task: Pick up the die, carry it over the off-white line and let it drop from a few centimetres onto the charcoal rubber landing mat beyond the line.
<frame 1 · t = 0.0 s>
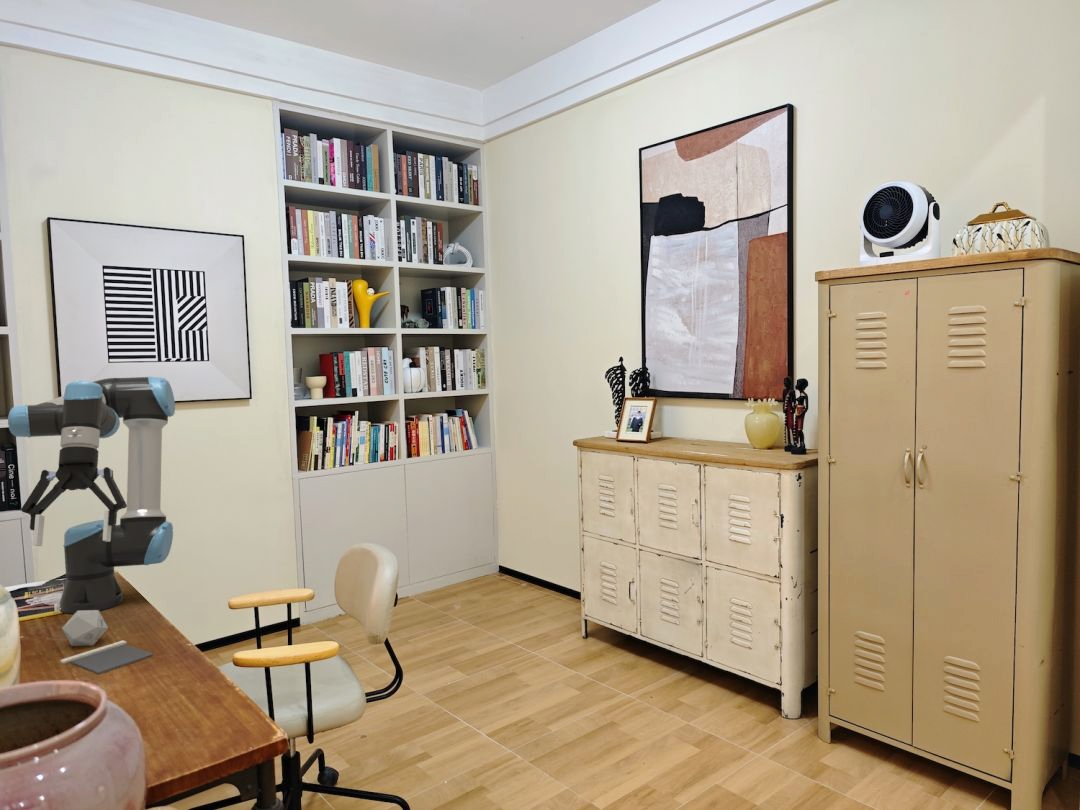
hand: (72, 543, 164), 28 cm above the table, tool tilted 20°, fingers open, 13 cm apart
landing mat: (110, 658, 170), on the table
die: (86, 644, 180), on the table
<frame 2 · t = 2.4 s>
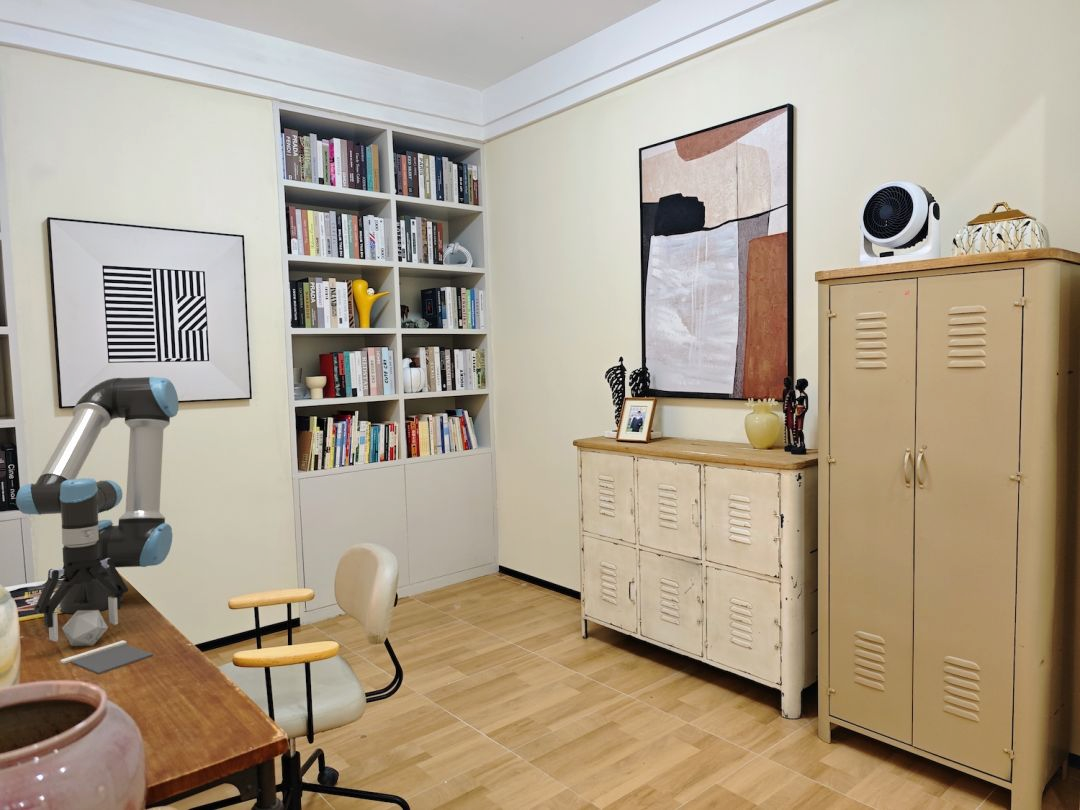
hand: (84, 631, 180), 3 cm above the table, tool pointing down, fingers open, 13 cm apart
nothing on the table moved.
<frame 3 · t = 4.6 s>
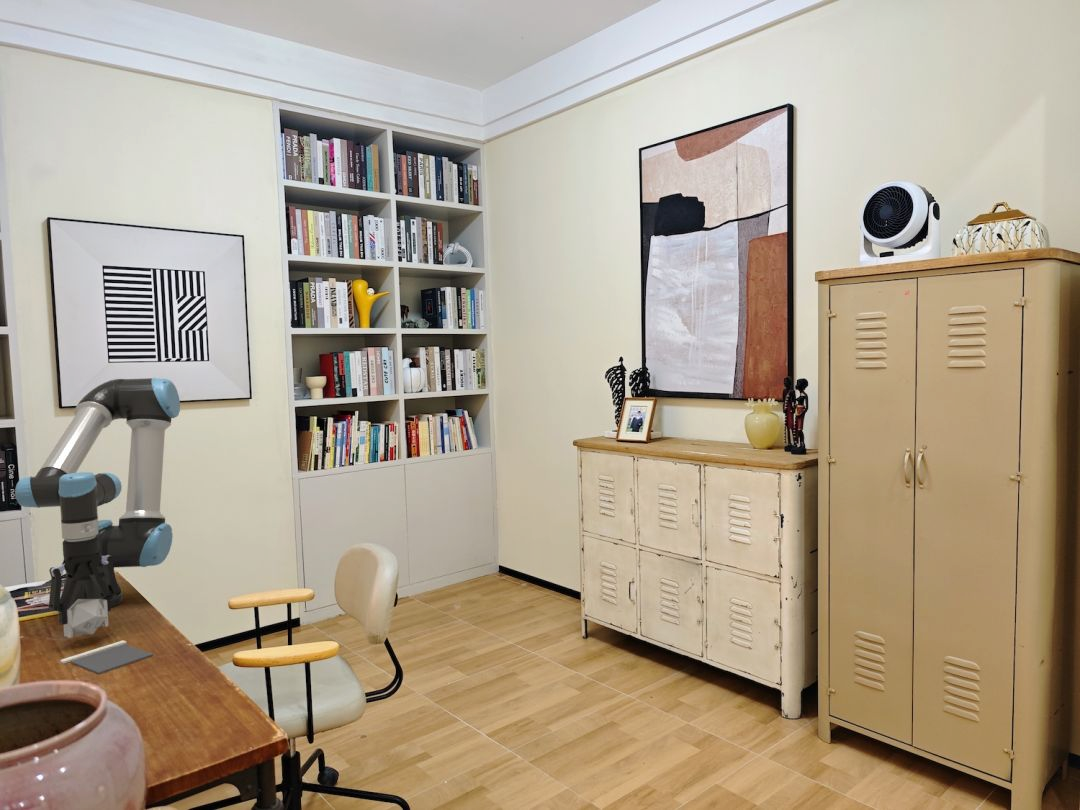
hand: (86, 630, 181), 3 cm above the table, tool pointing down, fingers closed on die, 7 cm apart
die: (86, 632, 181), point 2 cm above the table, touching gripper
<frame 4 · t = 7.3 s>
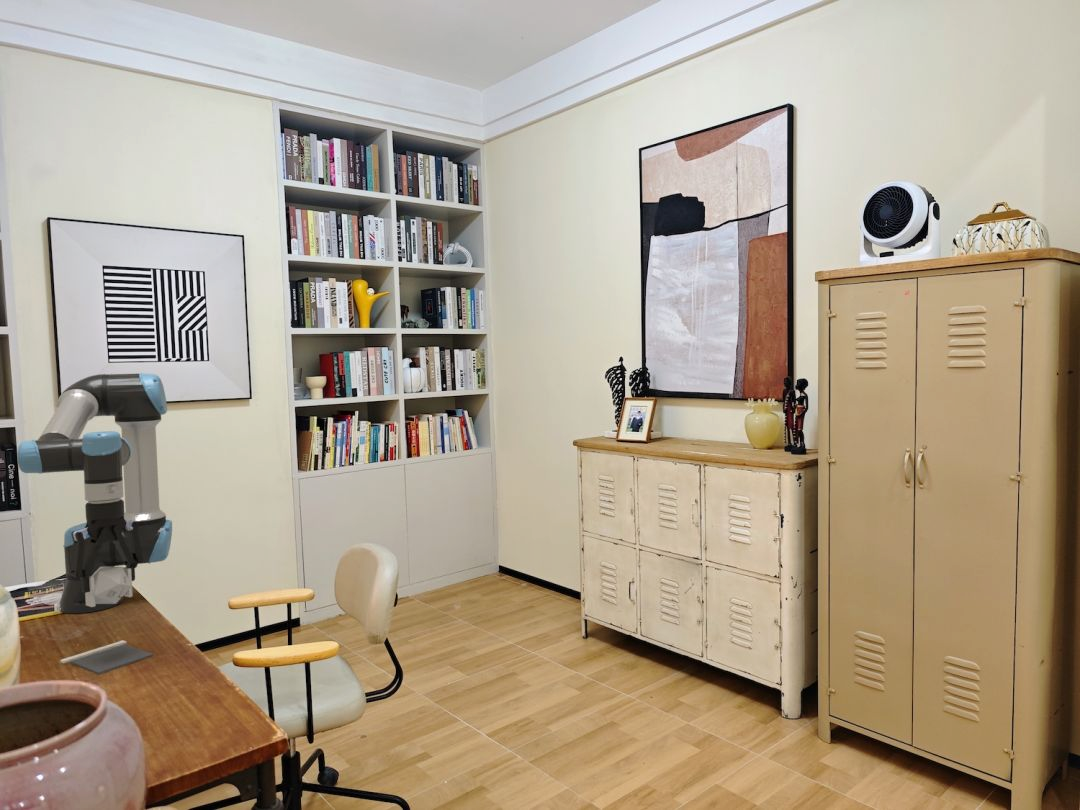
hand: (109, 600, 169), 14 cm above the table, tool pointing down, fingers closed on die, 7 cm apart
die: (108, 602, 169), point 13 cm above the table, touching gripper
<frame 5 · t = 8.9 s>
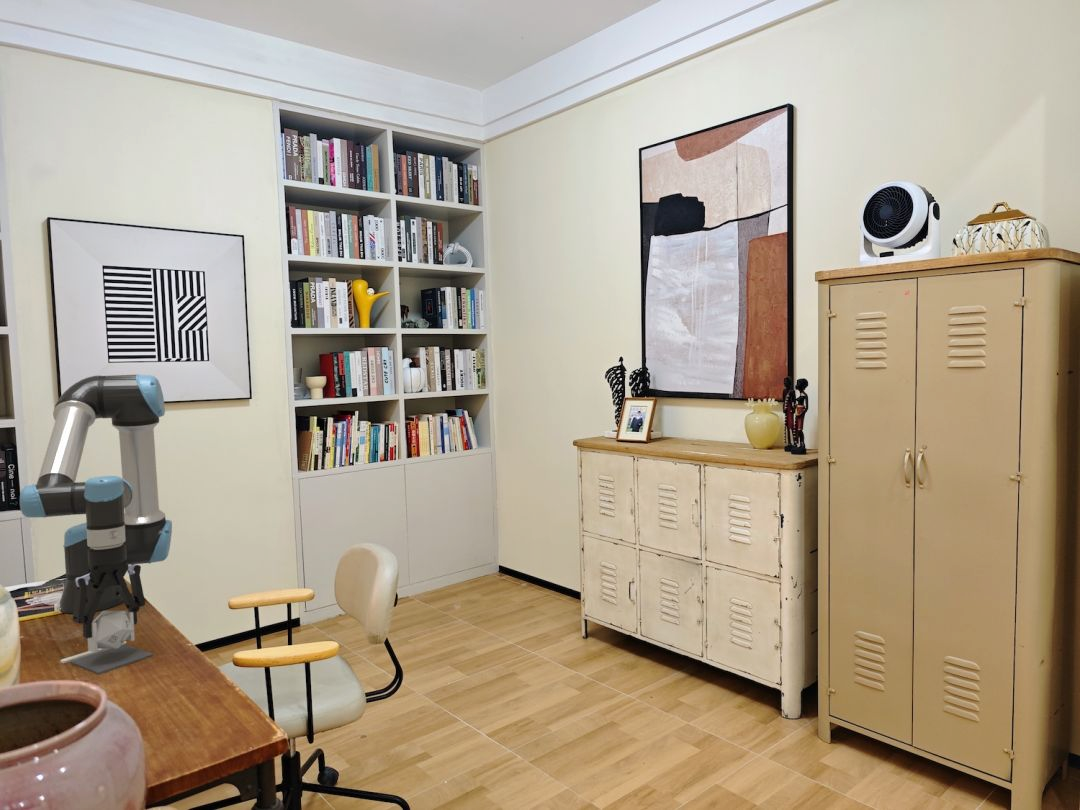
hand: (111, 645, 170), 3 cm above the table, tool pointing down, fingers closed on die, 7 cm apart
die: (111, 647, 170), point 3 cm above the table, touching gripper
when the fingers open (2 cm above the table, at t = 9.9 s): die drops 2 cm, resting on landing mat.
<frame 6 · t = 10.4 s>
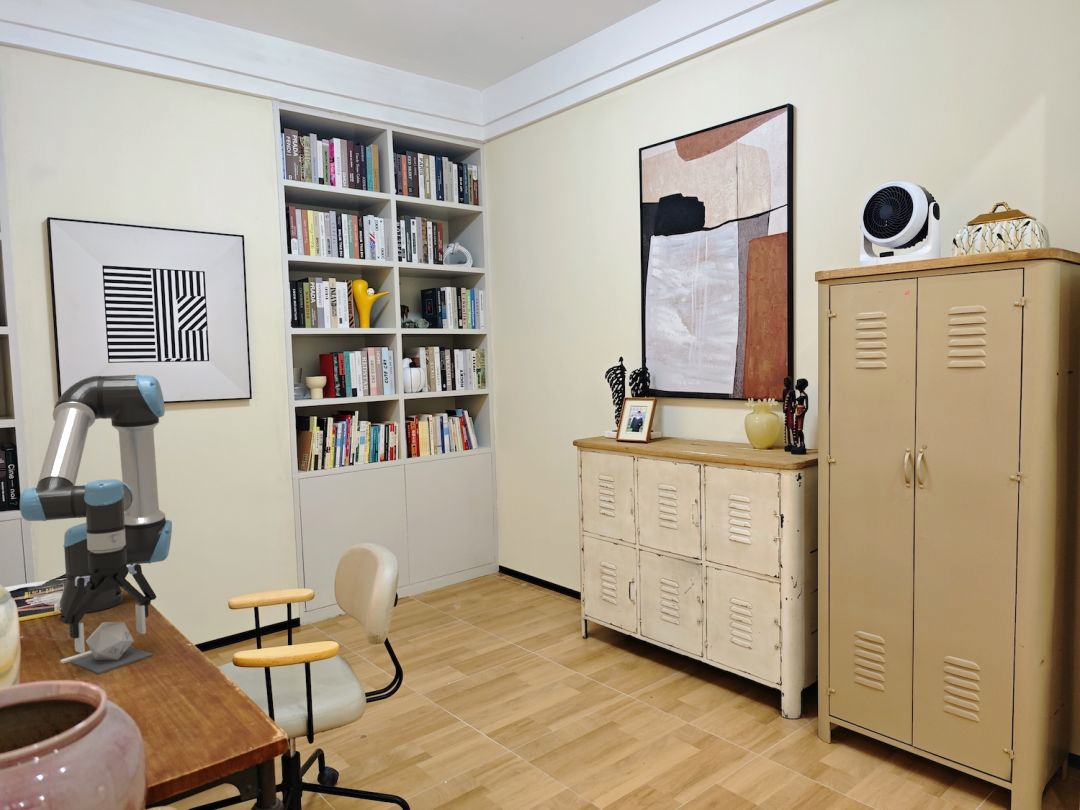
hand: (111, 641, 170), 4 cm above the table, tool pointing down, fingers open, 13 cm apart
die: (110, 658, 170), resting on landing mat
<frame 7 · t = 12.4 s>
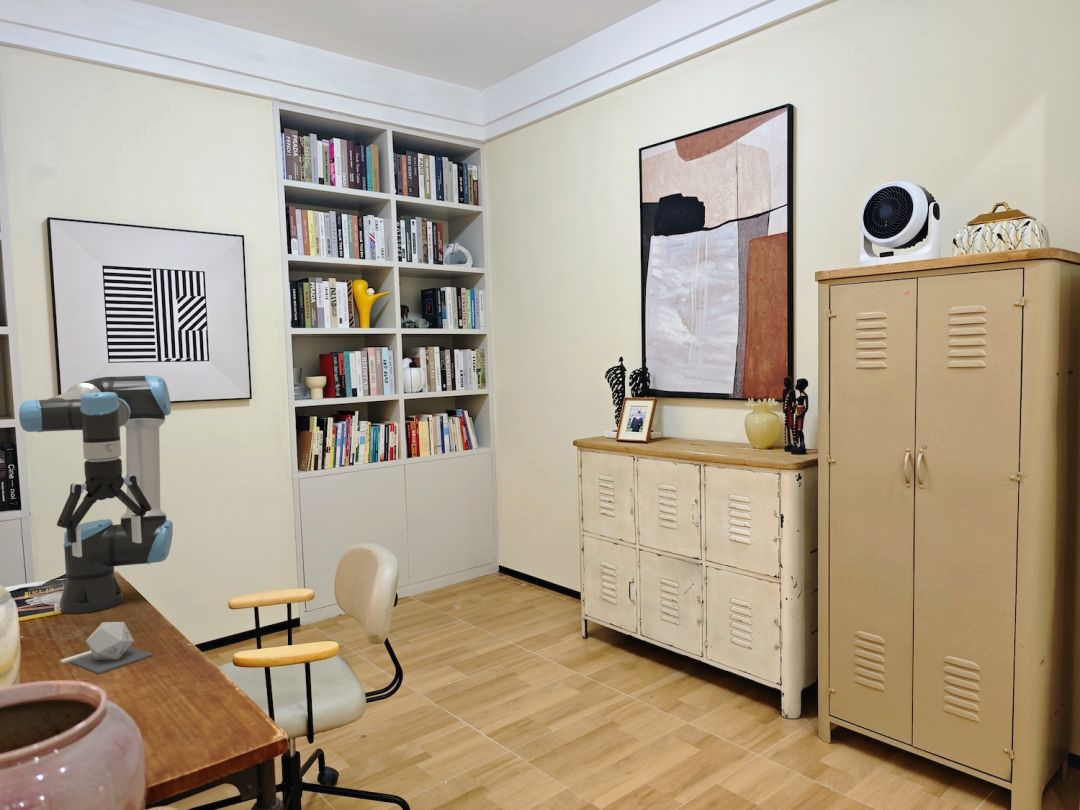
hand: (108, 549, 175), 24 cm above the table, tool pointing down, fingers open, 13 cm apart
nothing on the table moved.
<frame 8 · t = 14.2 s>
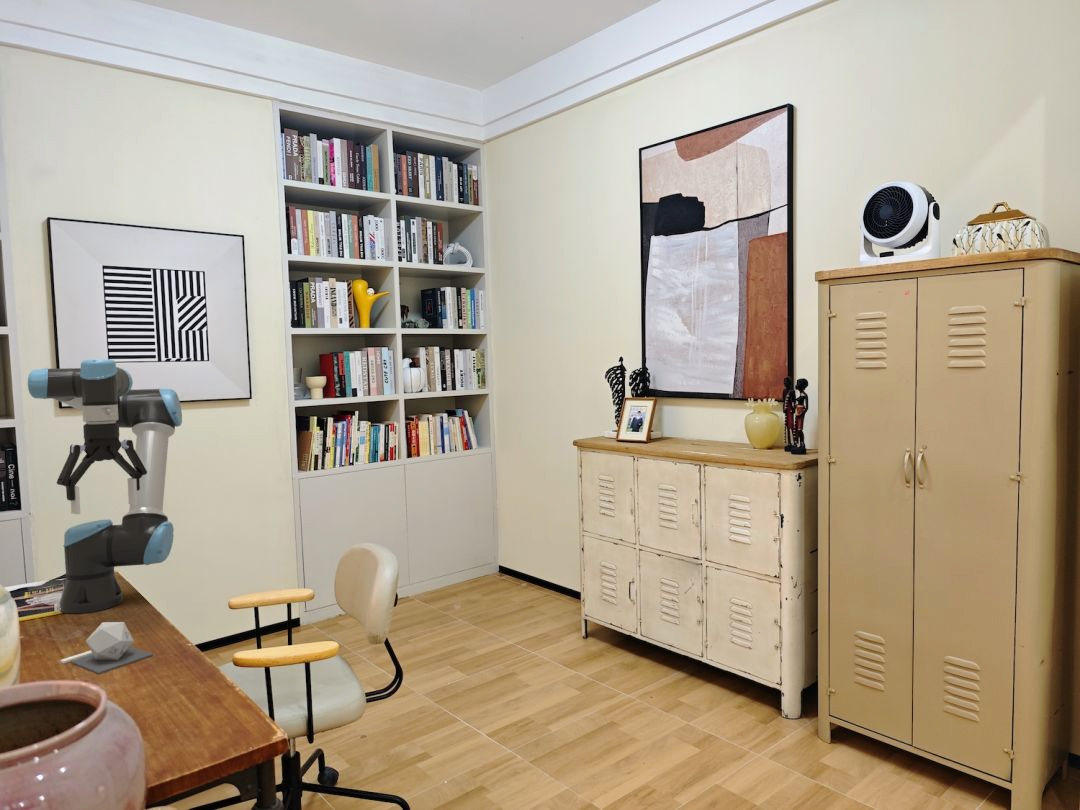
hand: (105, 508, 184), 32 cm above the table, tool pointing down, fingers open, 13 cm apart
nothing on the table moved.
at the end: die inside the target area (0.4 cm from its centre), resting on landing mat; die tilted 2°; the gripper is holding nothing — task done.
